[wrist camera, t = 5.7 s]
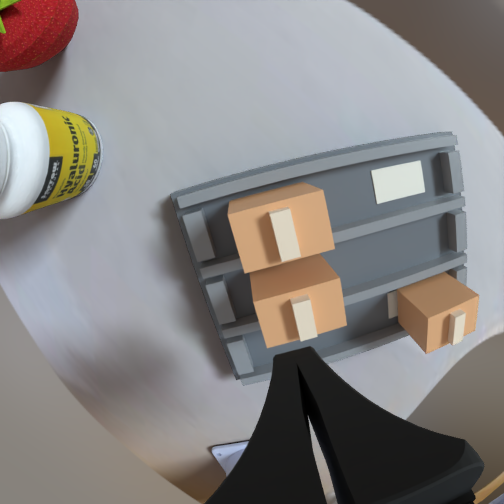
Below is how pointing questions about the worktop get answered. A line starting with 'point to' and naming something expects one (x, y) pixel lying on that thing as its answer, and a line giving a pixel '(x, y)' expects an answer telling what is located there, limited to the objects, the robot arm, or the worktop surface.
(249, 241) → the orange box
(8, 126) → the supplement bottle
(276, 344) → the tan box with strip
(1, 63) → the strawberry
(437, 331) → the cardboard box
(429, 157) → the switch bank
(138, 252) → the worktop surface
